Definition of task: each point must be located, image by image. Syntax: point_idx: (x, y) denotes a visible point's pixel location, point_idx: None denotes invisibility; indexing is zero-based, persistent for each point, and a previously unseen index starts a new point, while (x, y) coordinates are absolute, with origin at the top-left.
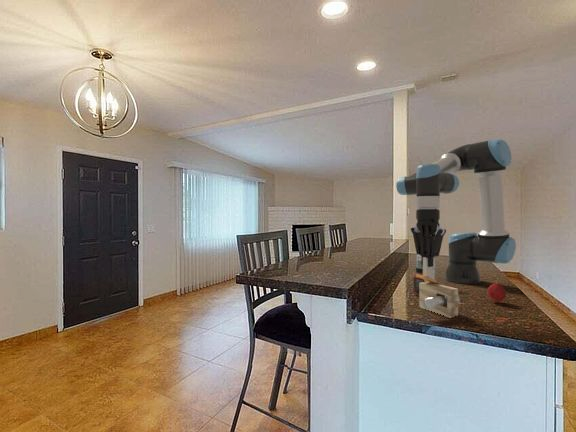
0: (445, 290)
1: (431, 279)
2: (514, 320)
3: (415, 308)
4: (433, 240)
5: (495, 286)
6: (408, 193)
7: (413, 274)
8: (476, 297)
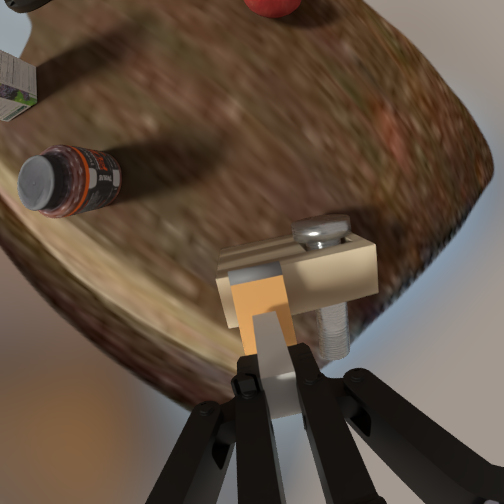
0: (358, 295)
1: (290, 318)
2: (404, 111)
3: None
4: (368, 484)
5: None
6: None
7: (45, 215)
8: (197, 18)
